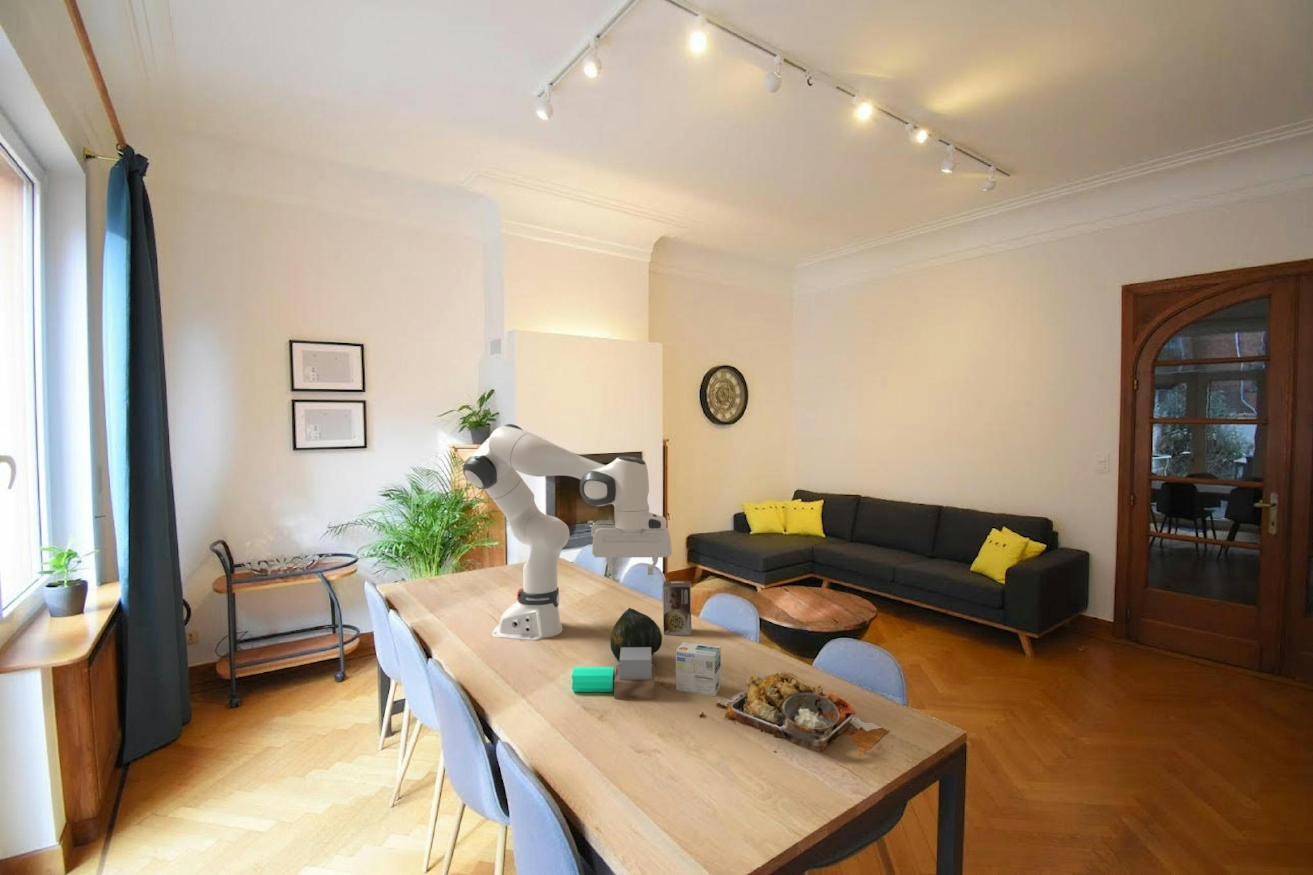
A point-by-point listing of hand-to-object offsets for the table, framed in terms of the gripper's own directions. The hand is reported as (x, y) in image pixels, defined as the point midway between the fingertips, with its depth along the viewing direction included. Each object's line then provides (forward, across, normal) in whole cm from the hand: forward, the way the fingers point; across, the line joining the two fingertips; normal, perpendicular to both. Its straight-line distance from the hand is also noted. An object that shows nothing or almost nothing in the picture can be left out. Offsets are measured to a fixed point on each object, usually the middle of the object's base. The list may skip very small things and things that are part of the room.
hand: (632, 574), depth 148 cm
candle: (+27, -5, 0) cm, 28 cm away
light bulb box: (+31, +17, +2) cm, 35 cm away
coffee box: (+31, +12, +42) cm, 53 cm away
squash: (+31, 0, +17) cm, 35 cm away
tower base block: (+31, 0, 0) cm, 31 cm away
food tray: (+31, +37, -16) cm, 51 cm away
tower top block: (+26, +1, +1) cm, 26 cm away
